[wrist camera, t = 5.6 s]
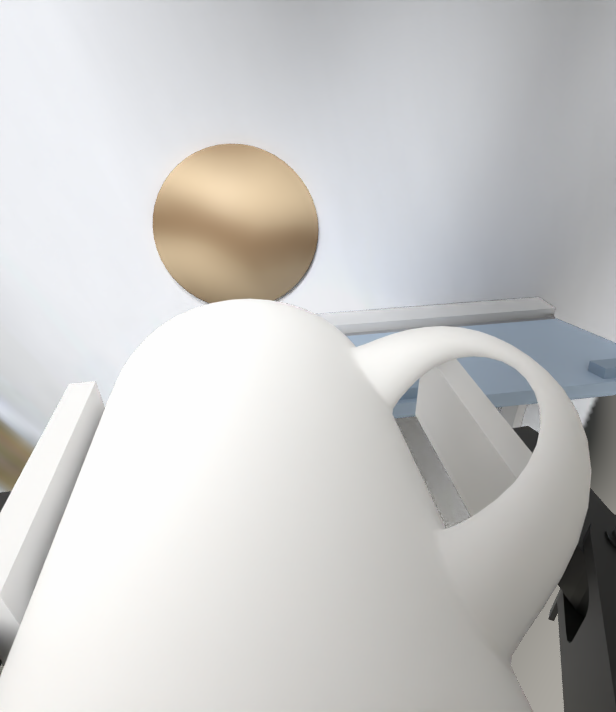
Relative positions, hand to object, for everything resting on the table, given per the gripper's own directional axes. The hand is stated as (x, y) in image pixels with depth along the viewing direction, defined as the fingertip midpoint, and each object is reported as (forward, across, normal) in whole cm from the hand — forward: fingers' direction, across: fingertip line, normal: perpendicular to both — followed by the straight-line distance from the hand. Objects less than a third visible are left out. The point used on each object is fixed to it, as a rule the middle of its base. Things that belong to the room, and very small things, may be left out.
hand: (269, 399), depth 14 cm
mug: (+1, +1, 0) cm, 1 cm away
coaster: (+19, -1, 0) cm, 19 cm away
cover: (+11, +13, -7) cm, 19 cm away
